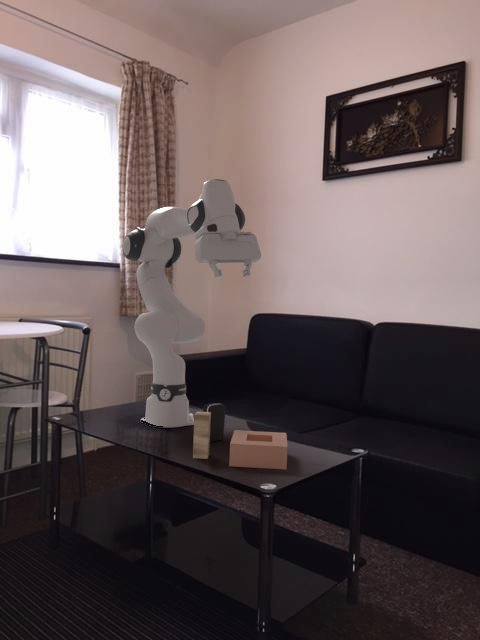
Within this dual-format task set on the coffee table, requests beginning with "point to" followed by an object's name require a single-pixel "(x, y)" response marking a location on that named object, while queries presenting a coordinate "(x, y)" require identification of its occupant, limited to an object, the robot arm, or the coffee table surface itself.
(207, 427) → the maple pin
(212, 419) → the battery charger
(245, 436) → the terracotta socket block
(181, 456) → the coffee table surface
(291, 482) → the coffee table surface
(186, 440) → the coffee table surface
